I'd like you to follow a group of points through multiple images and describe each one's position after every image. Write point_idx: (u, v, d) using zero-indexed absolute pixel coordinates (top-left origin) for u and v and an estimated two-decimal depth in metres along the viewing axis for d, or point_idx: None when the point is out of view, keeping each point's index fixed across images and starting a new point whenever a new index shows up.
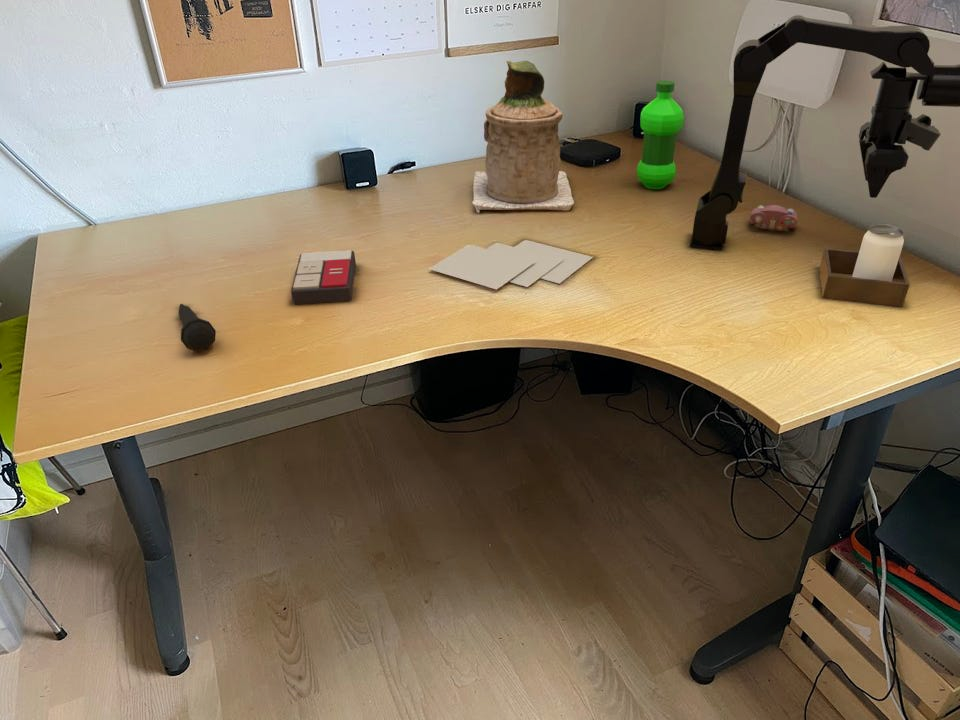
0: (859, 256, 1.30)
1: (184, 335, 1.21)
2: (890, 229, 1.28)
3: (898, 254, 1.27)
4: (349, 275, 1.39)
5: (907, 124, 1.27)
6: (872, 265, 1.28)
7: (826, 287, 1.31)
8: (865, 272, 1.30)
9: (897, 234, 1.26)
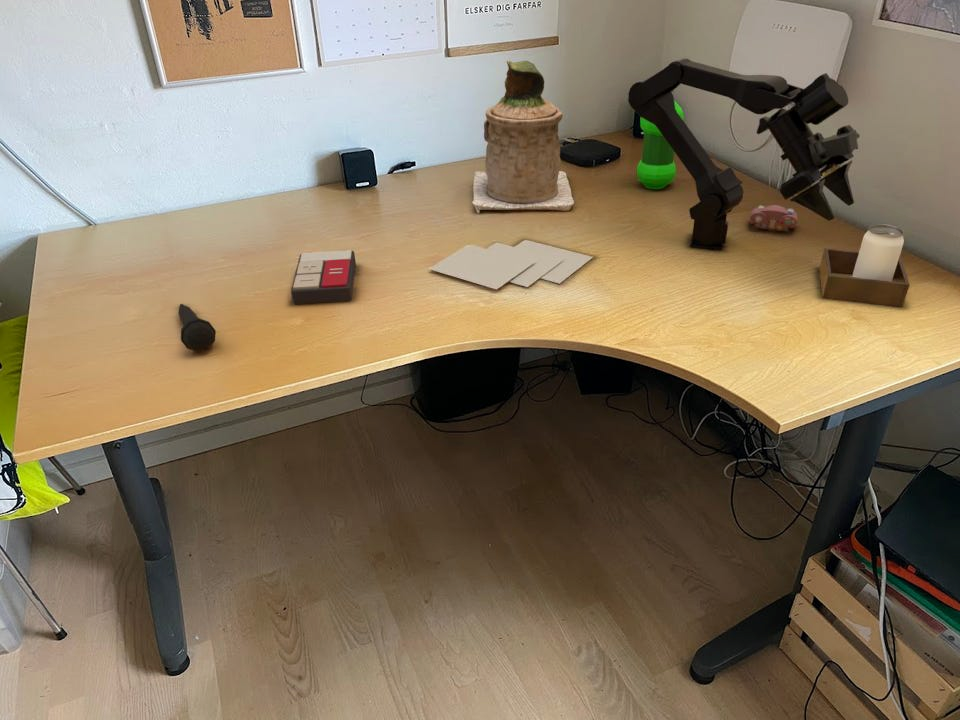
0: (859, 256, 1.30)
1: (184, 335, 1.21)
2: (890, 229, 1.28)
3: (898, 254, 1.27)
4: (349, 275, 1.39)
5: (811, 147, 1.28)
6: (872, 265, 1.28)
7: (826, 287, 1.31)
8: (865, 272, 1.30)
9: (897, 234, 1.26)
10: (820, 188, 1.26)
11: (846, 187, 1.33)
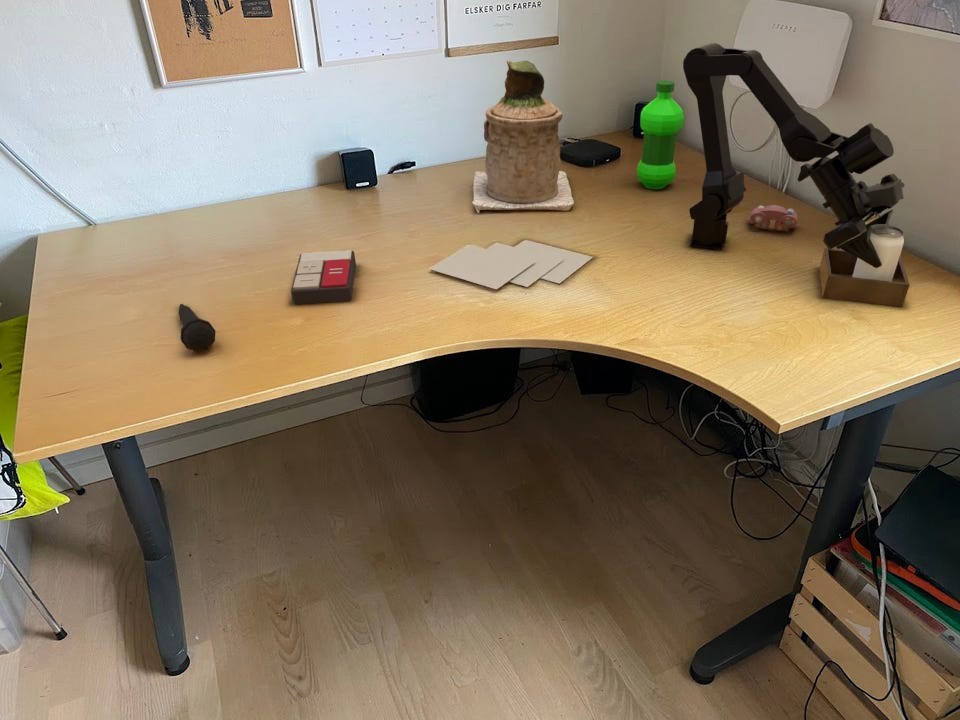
0: None
1: (184, 335, 1.21)
2: (890, 229, 1.28)
3: (898, 254, 1.27)
4: (349, 275, 1.39)
5: (855, 196, 1.26)
6: None
7: (826, 287, 1.31)
8: (865, 272, 1.30)
9: (897, 234, 1.26)
10: (868, 236, 1.25)
11: None
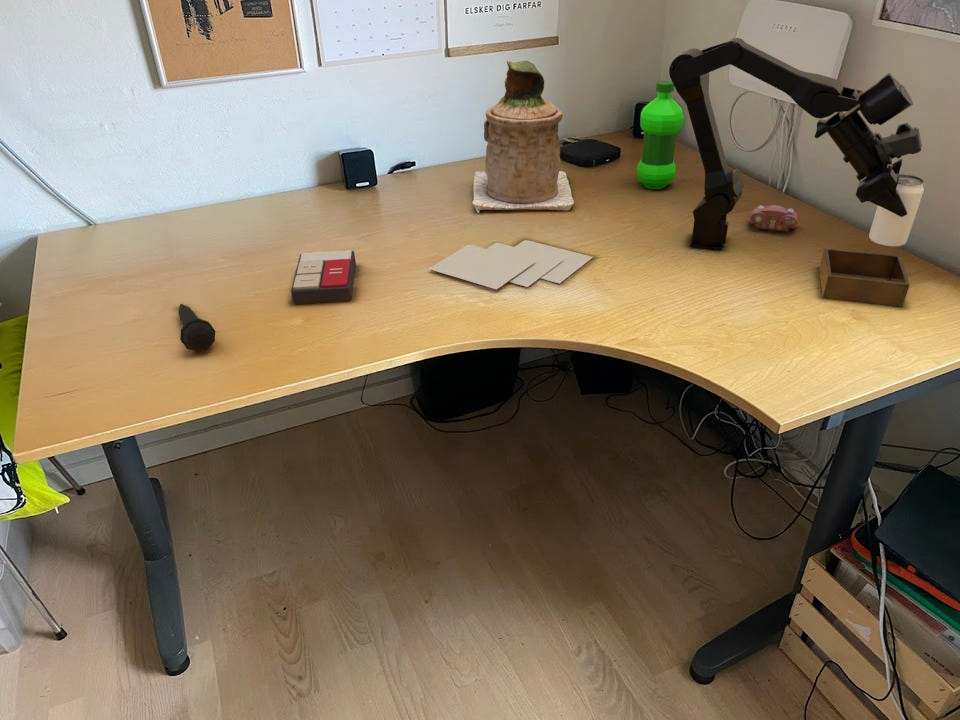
0: (881, 207, 1.32)
1: (184, 335, 1.21)
2: (907, 178, 1.31)
3: (919, 201, 1.30)
4: (349, 275, 1.39)
5: (878, 147, 1.27)
6: None
7: (826, 287, 1.31)
8: (889, 222, 1.31)
9: (917, 182, 1.29)
10: (896, 186, 1.26)
11: None
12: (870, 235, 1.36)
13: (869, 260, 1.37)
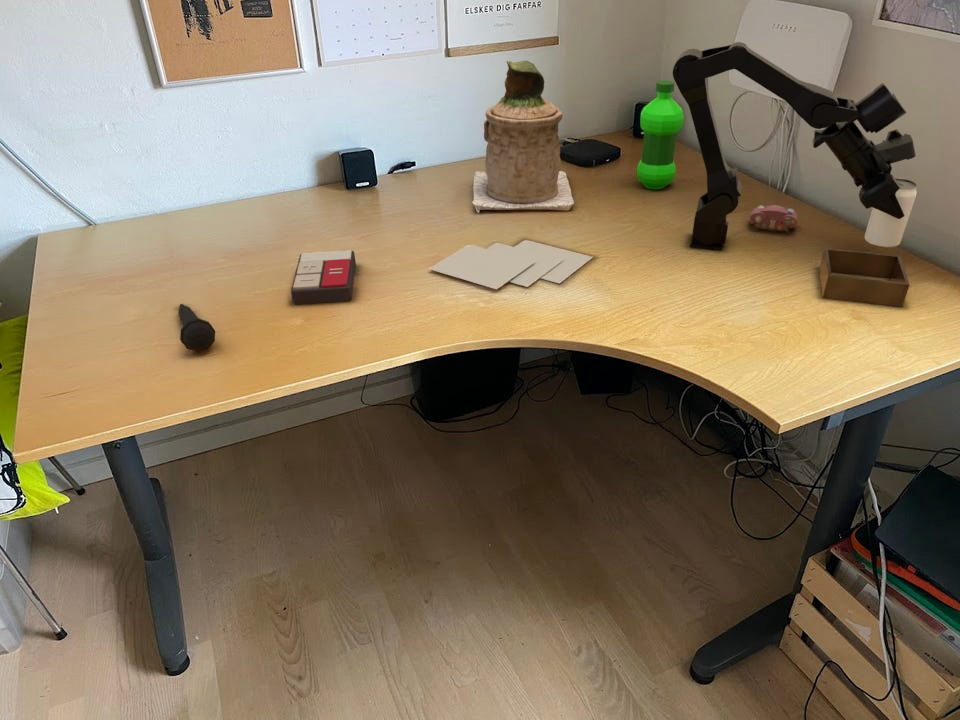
0: (878, 211, 1.37)
1: (184, 335, 1.21)
2: (899, 181, 1.37)
3: None
4: (349, 275, 1.39)
5: (876, 154, 1.32)
6: None
7: (826, 287, 1.31)
8: (887, 224, 1.37)
9: (910, 185, 1.35)
10: None
11: None
12: (867, 237, 1.41)
13: (869, 260, 1.37)
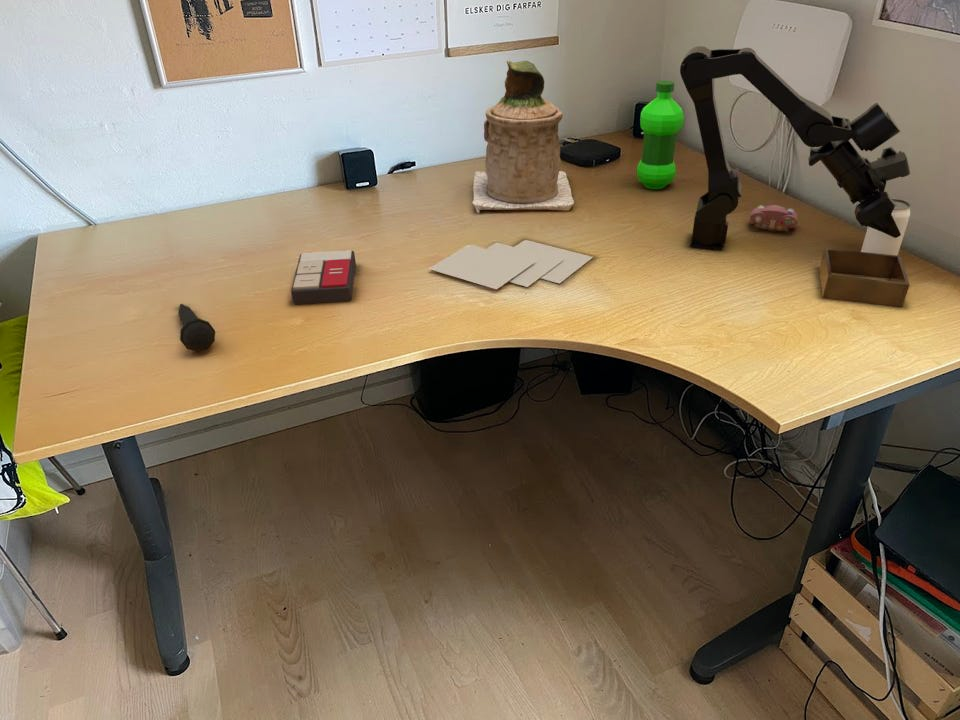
0: (872, 230, 1.39)
1: (184, 335, 1.21)
2: (893, 201, 1.39)
3: (907, 223, 1.38)
4: (349, 275, 1.39)
5: (871, 172, 1.33)
6: (889, 236, 1.38)
7: (826, 287, 1.31)
8: (882, 244, 1.39)
9: (904, 205, 1.37)
10: None
11: None
12: None
13: (869, 260, 1.37)
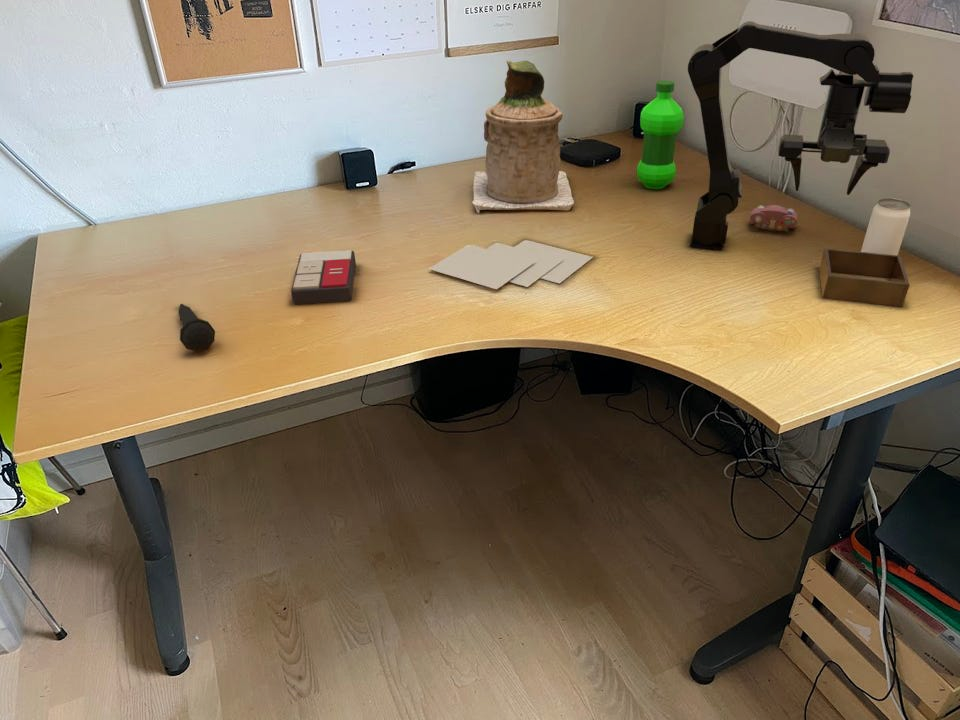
0: (872, 230, 1.39)
1: (183, 335, 1.21)
2: (893, 201, 1.39)
3: (907, 223, 1.38)
4: (349, 275, 1.39)
5: (823, 128, 1.32)
6: (889, 236, 1.38)
7: (826, 287, 1.31)
8: (882, 244, 1.39)
9: (904, 205, 1.37)
10: (793, 163, 1.37)
11: (852, 179, 1.37)
12: None
13: (869, 260, 1.37)
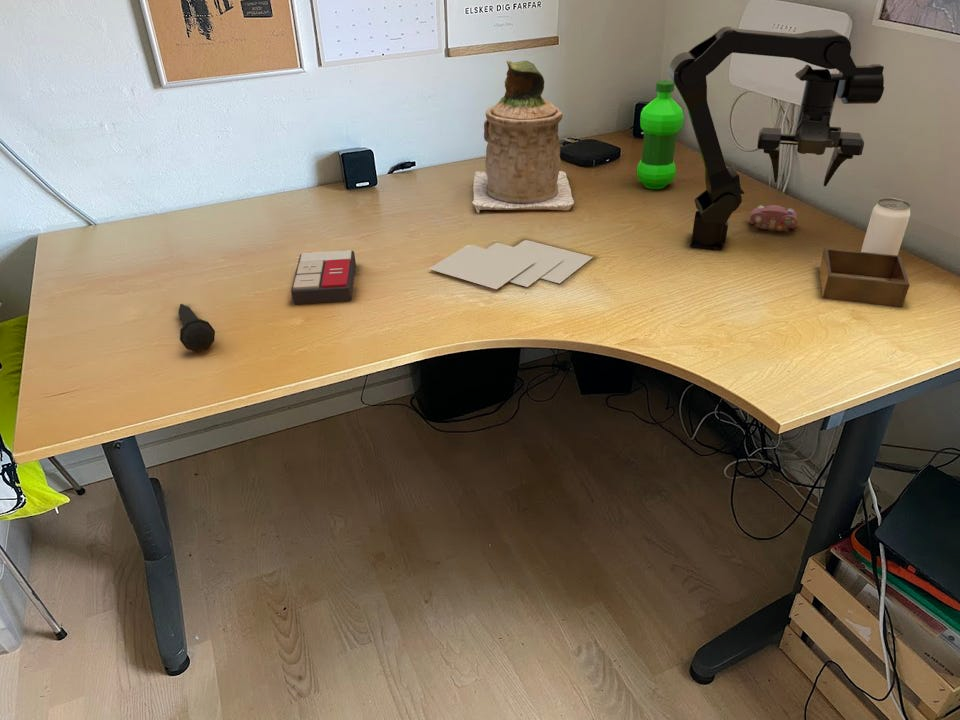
0: (872, 230, 1.39)
1: (183, 335, 1.21)
2: (893, 201, 1.39)
3: (907, 223, 1.38)
4: (349, 275, 1.39)
5: (800, 121, 1.36)
6: (889, 236, 1.38)
7: (826, 287, 1.31)
8: (882, 244, 1.39)
9: (904, 205, 1.37)
10: (772, 155, 1.42)
11: (828, 171, 1.41)
12: None
13: (869, 260, 1.37)
